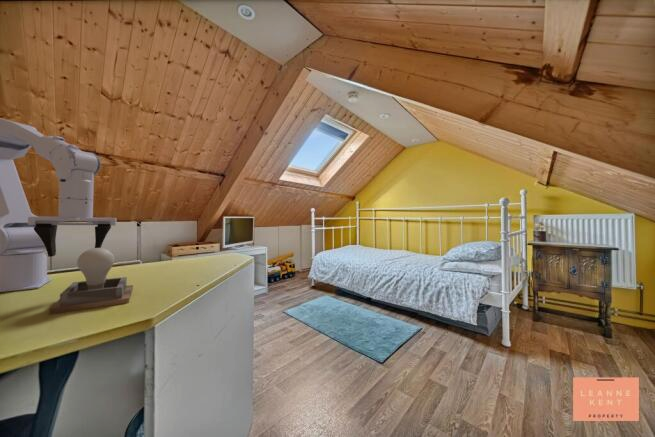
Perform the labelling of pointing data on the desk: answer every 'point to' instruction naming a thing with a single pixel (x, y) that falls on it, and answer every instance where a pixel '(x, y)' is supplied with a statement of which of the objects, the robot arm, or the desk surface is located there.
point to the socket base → (92, 296)
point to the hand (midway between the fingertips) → (75, 254)
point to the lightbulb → (95, 266)
